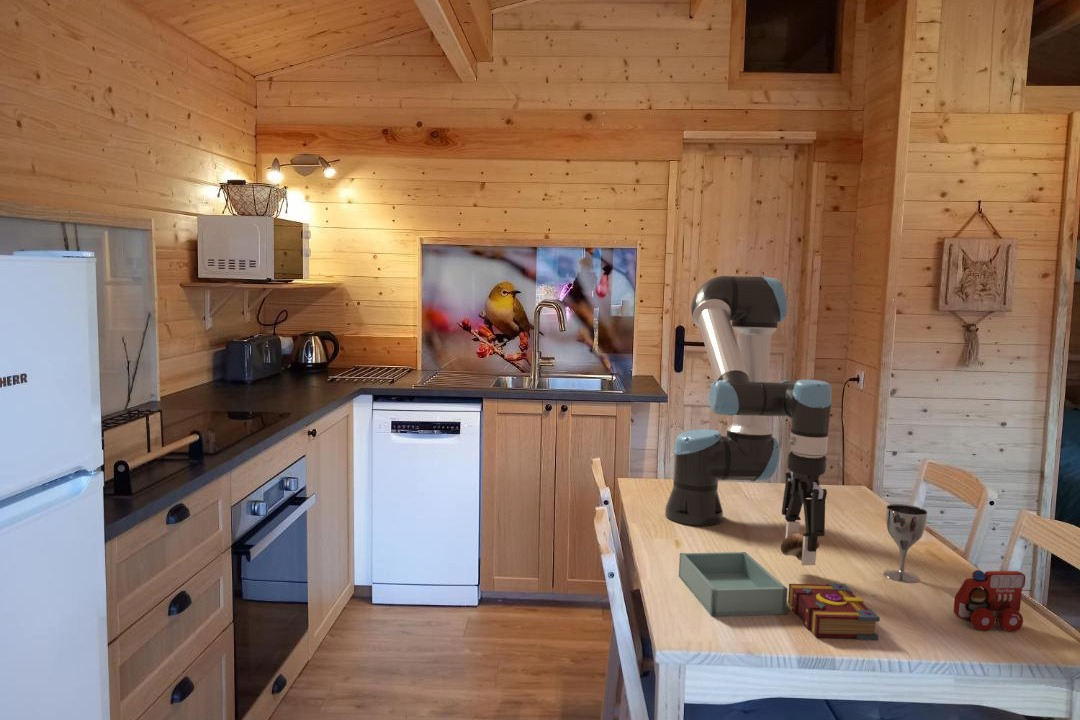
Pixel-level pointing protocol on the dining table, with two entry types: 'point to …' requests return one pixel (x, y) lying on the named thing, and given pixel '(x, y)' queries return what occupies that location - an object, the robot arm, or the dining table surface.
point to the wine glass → (904, 535)
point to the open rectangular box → (732, 584)
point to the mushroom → (794, 545)
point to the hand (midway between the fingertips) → (799, 557)
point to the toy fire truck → (991, 599)
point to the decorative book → (832, 611)
